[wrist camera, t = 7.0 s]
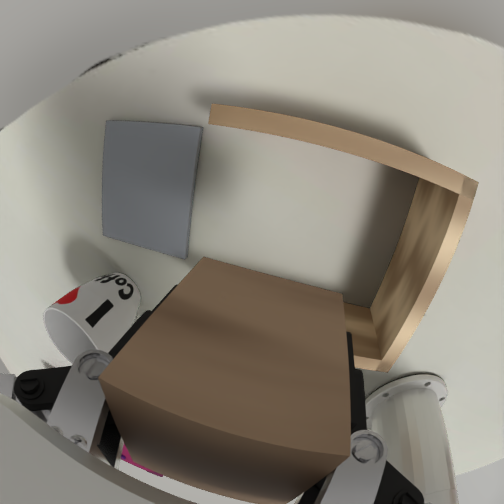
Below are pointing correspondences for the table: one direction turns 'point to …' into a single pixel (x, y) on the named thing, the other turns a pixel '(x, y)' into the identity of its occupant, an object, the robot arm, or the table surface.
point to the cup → (93, 315)
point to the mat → (150, 184)
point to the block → (237, 385)
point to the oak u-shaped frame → (410, 242)
